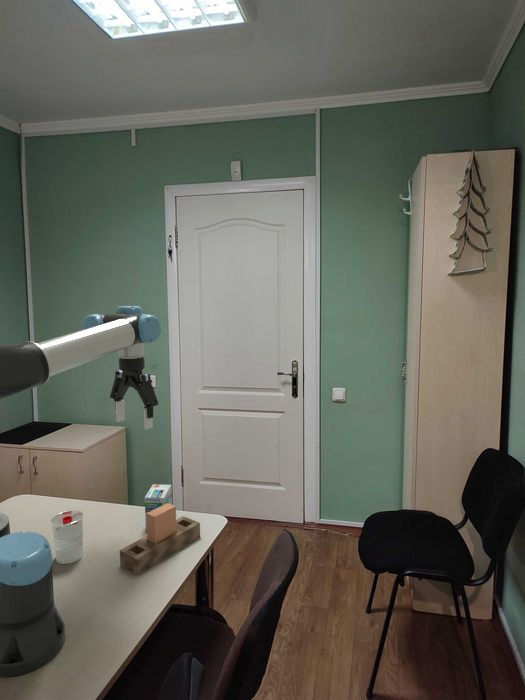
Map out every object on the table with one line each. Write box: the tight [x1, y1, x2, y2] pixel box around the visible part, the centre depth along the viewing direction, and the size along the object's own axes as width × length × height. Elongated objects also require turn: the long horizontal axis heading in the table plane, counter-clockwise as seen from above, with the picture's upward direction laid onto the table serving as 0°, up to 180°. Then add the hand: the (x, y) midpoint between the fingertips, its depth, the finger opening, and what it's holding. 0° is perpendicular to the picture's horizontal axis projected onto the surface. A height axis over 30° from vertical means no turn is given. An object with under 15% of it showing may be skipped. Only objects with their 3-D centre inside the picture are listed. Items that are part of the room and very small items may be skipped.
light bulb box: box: [144, 483, 173, 530], centre depth 148 cm, size 11×7×11 cm, turn 179°
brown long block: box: [119, 516, 201, 576], centre depth 131 cm, size 24×7×4 cm, turn 144°
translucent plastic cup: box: [50, 510, 84, 565], centre depth 128 cm, size 10×8×12 cm
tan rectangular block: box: [146, 503, 177, 544], centre depth 131 cm, size 8×4×12 cm, turn 144°
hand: (134, 424), depth 139 cm, fingers open, 13 cm apart
